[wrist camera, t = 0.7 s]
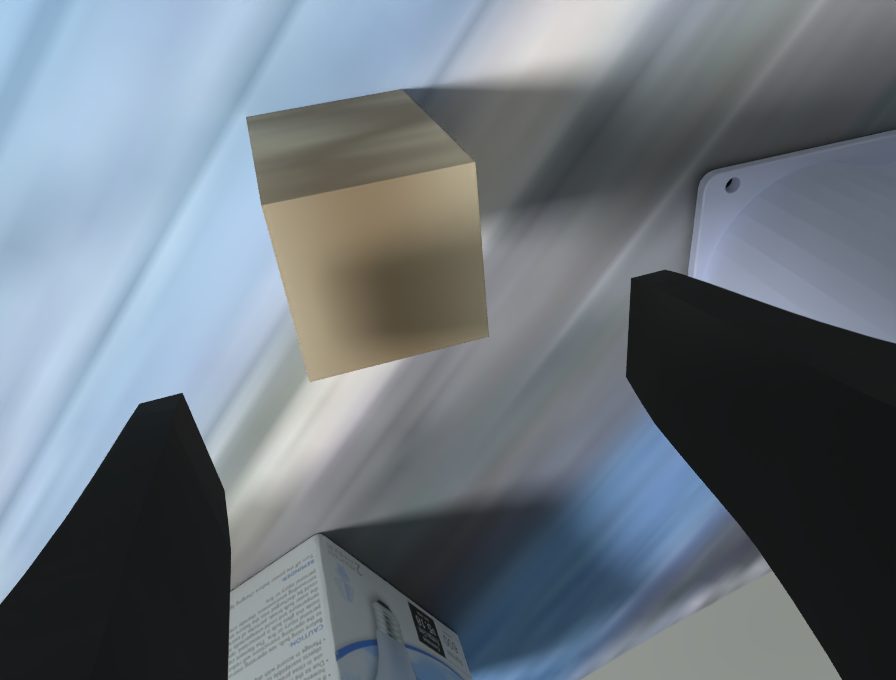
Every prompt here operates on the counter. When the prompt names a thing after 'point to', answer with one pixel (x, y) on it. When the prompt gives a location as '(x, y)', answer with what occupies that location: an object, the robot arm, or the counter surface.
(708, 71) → the counter surface
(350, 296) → the peg
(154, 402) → the robot arm
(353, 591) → the light bulb box
